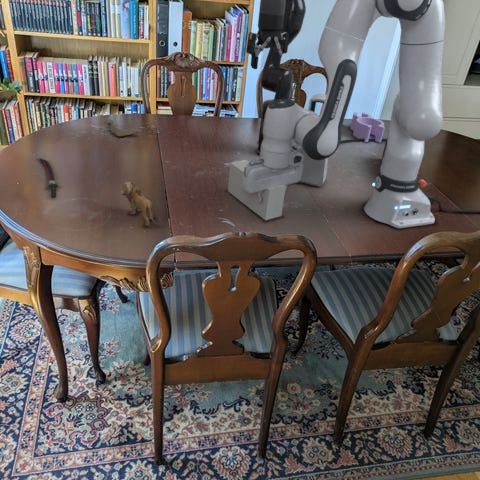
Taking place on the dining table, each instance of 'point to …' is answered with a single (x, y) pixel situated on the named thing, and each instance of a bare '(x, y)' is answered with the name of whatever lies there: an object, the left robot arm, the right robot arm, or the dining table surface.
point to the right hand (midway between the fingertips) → (269, 199)
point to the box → (271, 195)
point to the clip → (367, 127)
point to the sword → (52, 181)
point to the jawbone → (119, 132)
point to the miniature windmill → (297, 82)
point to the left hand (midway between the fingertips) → (265, 68)
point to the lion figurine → (137, 201)
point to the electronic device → (313, 168)
